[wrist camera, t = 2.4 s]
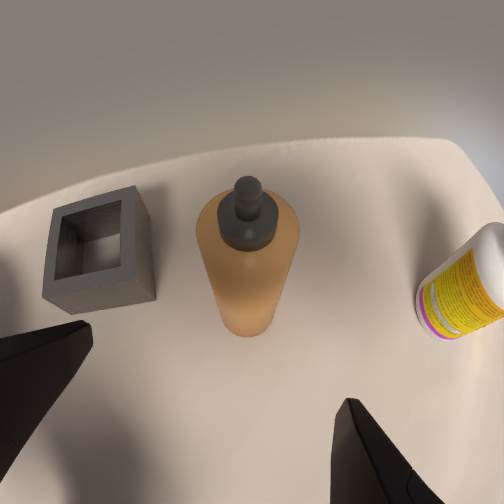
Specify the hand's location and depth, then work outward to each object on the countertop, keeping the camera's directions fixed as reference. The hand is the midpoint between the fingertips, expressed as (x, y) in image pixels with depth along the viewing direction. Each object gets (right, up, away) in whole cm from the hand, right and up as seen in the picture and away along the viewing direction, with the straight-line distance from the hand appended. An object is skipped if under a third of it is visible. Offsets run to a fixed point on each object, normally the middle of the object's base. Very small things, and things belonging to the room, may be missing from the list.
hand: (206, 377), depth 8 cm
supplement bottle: (+19, -1, +14) cm, 23 cm away
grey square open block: (-11, +3, +15) cm, 19 cm away
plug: (+1, -1, +13) cm, 13 cm away
